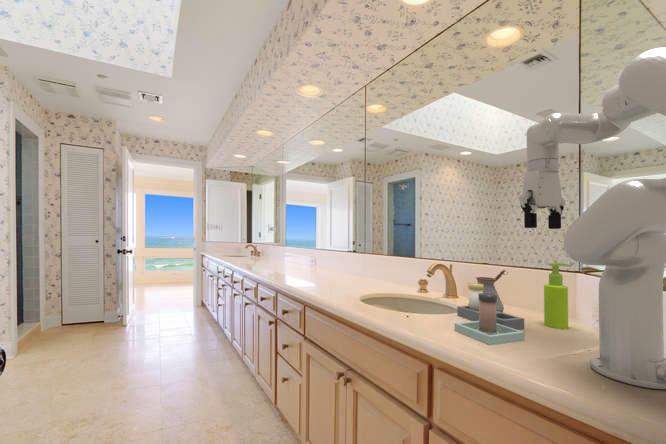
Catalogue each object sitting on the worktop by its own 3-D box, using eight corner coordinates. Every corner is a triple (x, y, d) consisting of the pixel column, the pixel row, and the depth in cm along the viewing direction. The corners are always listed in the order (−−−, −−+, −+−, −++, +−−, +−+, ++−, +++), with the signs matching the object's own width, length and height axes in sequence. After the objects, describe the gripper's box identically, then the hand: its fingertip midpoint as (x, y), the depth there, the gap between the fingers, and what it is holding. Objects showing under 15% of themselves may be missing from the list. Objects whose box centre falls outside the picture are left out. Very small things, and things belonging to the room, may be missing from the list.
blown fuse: (501, 337, 82) (501, 295, 83) (488, 339, 81) (488, 296, 81) (487, 332, 87) (487, 292, 87) (474, 333, 85) (474, 293, 86)
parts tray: (524, 343, 80) (524, 332, 80) (489, 349, 76) (489, 336, 76) (486, 330, 91) (486, 319, 91) (454, 334, 87) (454, 323, 87)
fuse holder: (524, 332, 90) (524, 318, 90) (503, 335, 87) (503, 320, 87) (475, 316, 107) (475, 304, 107) (457, 318, 104) (457, 306, 104)
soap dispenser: (576, 333, 90) (575, 264, 91) (549, 331, 91) (549, 263, 92) (565, 327, 96) (565, 262, 97) (540, 325, 97) (540, 262, 98)
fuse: (486, 318, 100) (486, 284, 101) (475, 320, 99) (476, 285, 99) (475, 315, 105) (475, 282, 105) (465, 316, 103) (465, 283, 103)
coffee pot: (494, 320, 102) (494, 275, 103) (462, 313, 111) (462, 271, 112) (521, 311, 115) (521, 271, 116) (490, 305, 124) (490, 268, 125)
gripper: (549, 173, 94) (550, 229, 93) (508, 167, 88) (508, 227, 87) (576, 168, 87) (577, 229, 86) (533, 162, 81) (534, 227, 80)
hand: (542, 228), depth 87 cm, fingers open, 9 cm apart
